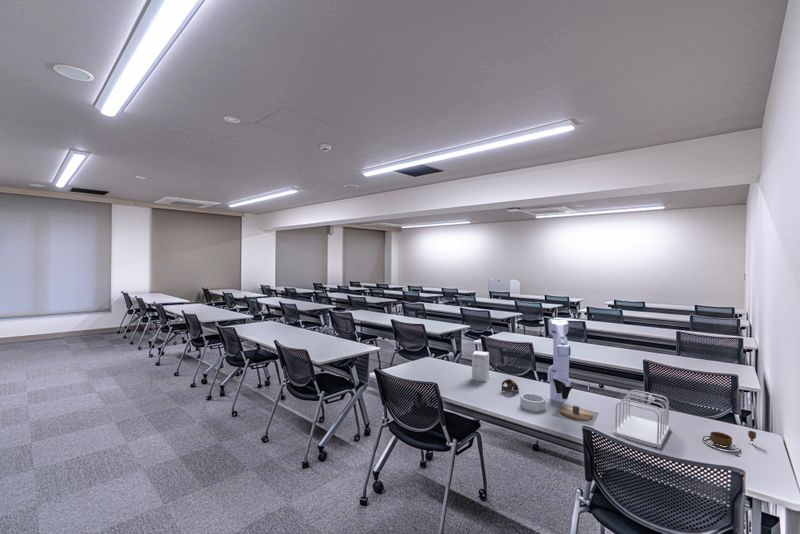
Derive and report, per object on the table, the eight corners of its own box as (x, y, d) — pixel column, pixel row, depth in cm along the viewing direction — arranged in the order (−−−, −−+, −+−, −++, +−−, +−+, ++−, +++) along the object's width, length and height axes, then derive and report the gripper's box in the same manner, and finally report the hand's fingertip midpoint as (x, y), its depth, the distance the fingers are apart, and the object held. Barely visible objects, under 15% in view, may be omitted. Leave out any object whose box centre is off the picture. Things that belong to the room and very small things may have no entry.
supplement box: (489, 377, 240) (489, 352, 240) (486, 382, 232) (487, 355, 232) (474, 375, 244) (475, 350, 244) (471, 379, 236) (471, 353, 236)
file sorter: (627, 418, 182) (628, 386, 182) (670, 430, 170) (671, 396, 170) (612, 435, 164) (613, 400, 164) (660, 449, 152) (661, 412, 152)
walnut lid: (563, 405, 195) (563, 398, 195) (595, 413, 186) (595, 405, 186) (556, 414, 183) (556, 407, 183) (589, 423, 174) (589, 415, 174)
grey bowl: (525, 400, 202) (525, 391, 202) (547, 406, 195) (548, 397, 195) (517, 407, 192) (517, 398, 192) (541, 413, 185) (541, 404, 185)
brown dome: (522, 396, 211) (516, 384, 209) (506, 401, 213) (500, 390, 211) (517, 383, 222) (511, 372, 220) (502, 389, 224) (497, 378, 222)
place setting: (696, 434, 167) (696, 421, 167) (753, 444, 159) (754, 430, 159) (710, 453, 151) (711, 438, 151) (775, 465, 143) (775, 449, 143)
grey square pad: (561, 404, 197) (561, 404, 197) (599, 413, 187) (599, 412, 187) (552, 415, 183) (552, 415, 183) (592, 426, 172) (592, 425, 172)
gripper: (549, 364, 191) (548, 390, 191) (559, 373, 176) (559, 401, 177) (563, 364, 191) (562, 390, 191) (574, 373, 176) (574, 401, 176)
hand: (561, 396), depth 184 cm, fingers open, 7 cm apart
